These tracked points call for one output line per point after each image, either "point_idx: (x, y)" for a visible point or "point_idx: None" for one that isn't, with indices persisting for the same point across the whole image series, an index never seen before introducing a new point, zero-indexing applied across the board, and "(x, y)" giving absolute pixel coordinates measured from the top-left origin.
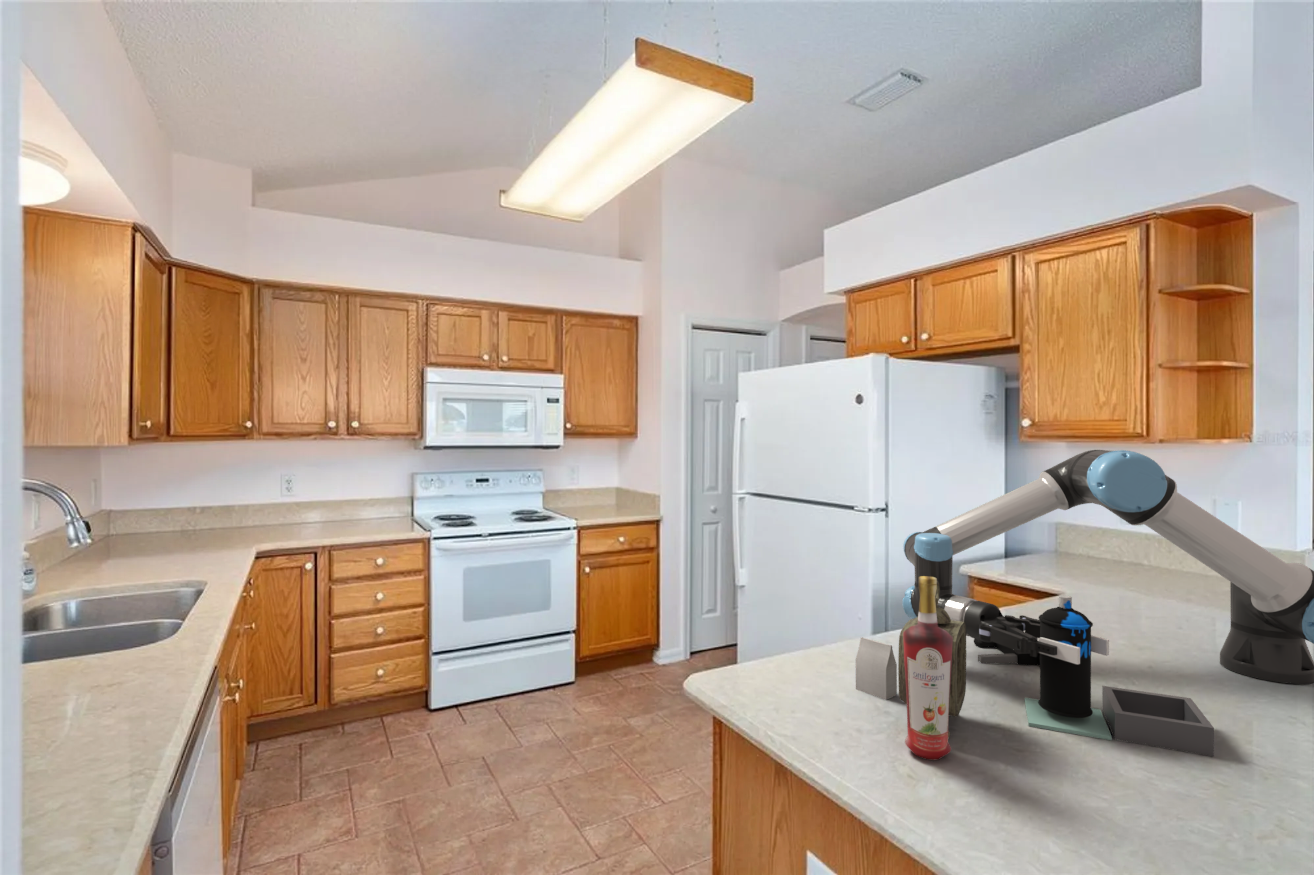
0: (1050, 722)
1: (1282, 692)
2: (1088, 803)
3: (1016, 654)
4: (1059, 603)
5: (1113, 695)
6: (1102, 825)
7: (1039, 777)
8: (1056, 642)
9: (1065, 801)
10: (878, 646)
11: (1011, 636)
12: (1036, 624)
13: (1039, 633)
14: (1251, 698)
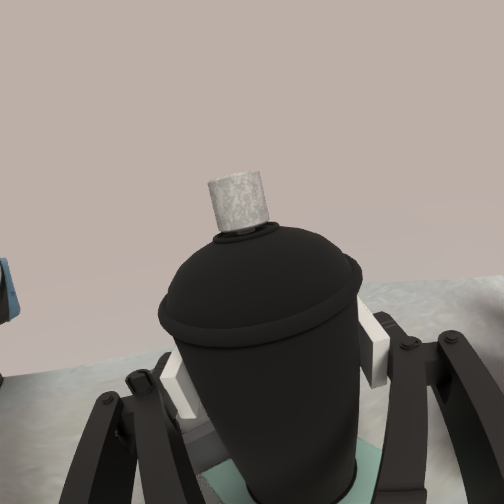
0: (365, 461)
1: (19, 382)
2: (453, 315)
3: None
4: (262, 205)
5: (209, 423)
6: (457, 298)
7: (478, 343)
8: (364, 307)
9: (470, 316)
10: None
11: (482, 370)
12: (166, 487)
13: (195, 490)
14: (39, 392)
